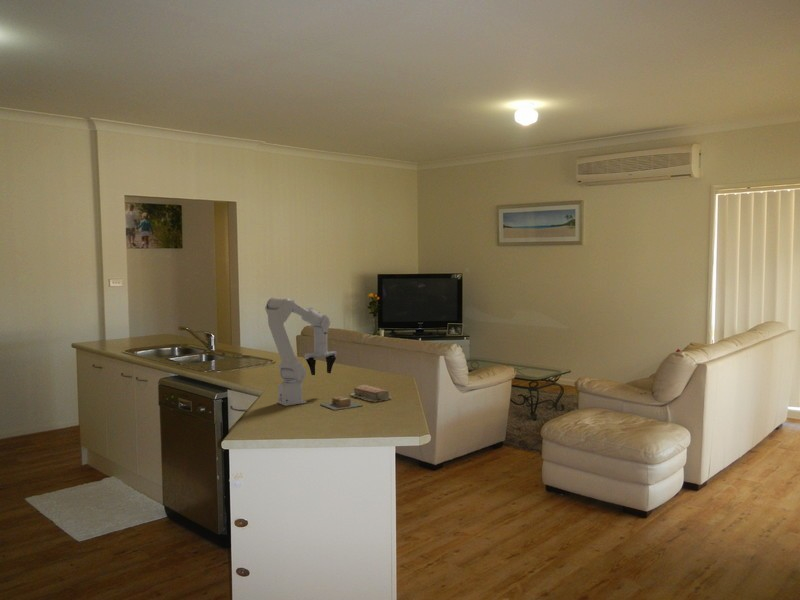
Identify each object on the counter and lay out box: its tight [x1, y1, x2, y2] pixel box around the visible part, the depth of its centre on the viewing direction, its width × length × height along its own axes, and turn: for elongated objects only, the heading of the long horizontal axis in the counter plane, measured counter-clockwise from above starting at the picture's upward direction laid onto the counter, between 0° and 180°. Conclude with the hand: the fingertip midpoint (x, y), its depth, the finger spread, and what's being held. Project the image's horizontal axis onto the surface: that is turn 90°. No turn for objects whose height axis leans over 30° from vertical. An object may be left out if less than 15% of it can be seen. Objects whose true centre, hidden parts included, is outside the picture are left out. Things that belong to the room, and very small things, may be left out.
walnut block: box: [331, 395, 351, 407], centre depth 262 cm, size 7×4×3 cm, turn 35°
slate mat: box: [319, 401, 364, 411], centre depth 262 cm, size 13×12×1 cm
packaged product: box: [348, 384, 393, 403], centre depth 277 cm, size 18×5×10 cm
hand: (321, 374), depth 281 cm, fingers open, 7 cm apart
